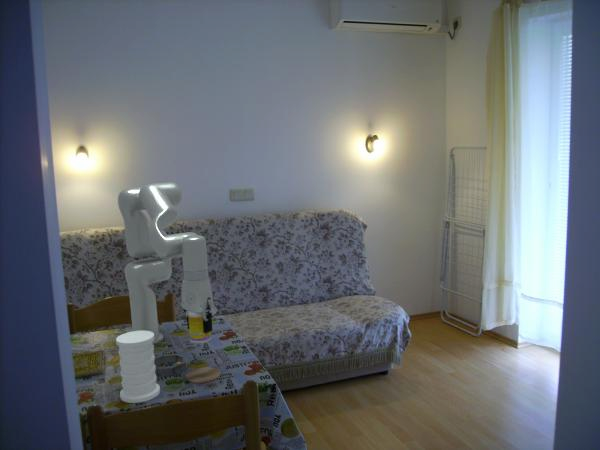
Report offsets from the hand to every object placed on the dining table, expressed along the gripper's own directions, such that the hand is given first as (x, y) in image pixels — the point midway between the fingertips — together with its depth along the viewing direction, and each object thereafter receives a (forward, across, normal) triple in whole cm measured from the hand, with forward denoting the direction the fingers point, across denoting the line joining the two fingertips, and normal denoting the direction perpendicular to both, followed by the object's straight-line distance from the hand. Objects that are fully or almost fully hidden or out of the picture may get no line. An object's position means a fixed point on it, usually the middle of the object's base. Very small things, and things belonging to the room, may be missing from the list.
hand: (200, 329), depth 171 cm
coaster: (+15, 0, 0) cm, 15 cm away
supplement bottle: (+4, 0, 0) cm, 4 cm away
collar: (+15, -15, -2) cm, 22 cm away
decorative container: (+16, -7, -19) cm, 26 cm away
